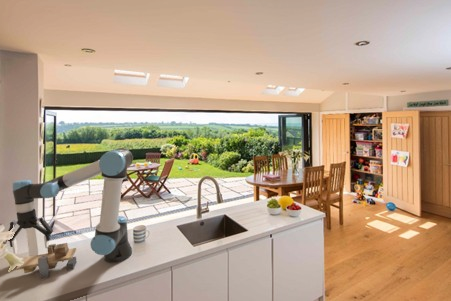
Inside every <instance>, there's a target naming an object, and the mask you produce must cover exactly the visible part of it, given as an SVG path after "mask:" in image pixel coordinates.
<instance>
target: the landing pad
mask: <svg viewBox="0 0 451 301" xmlns="http://www.w3.org/2000/svg"><path fill="white" fill-rule="evenodd" d="M76 264H77V256H73V258H72V259H70V260H67V263H66V271H72V270H74V269H75V266H76Z"/></svg>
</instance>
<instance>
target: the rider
mask: <svg viewBox="0 0 451 301" xmlns="http://www.w3.org/2000/svg"><path fill="white" fill-rule="evenodd" d="M68 248H69V246H68V242H64V243H59V244H56V247H55V248H54V254H55V258H58V257H63V256H66V255H67V253H68Z"/></svg>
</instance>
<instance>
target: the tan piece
mask: <svg viewBox="0 0 451 301" xmlns="http://www.w3.org/2000/svg"><path fill="white" fill-rule="evenodd" d="M48 250H49V253H48V252H47V254H41V255H36V256H31V257H29V256H26V257H24V258H23V259H22V261H24V264H23V265H21V266H18V265H17V267H16V271H20V270H23V274H27V273H33V272H35V271H36V269H37V267H39V265H38V258H39V257H45V256H47V258H48V266H49V270H53V269H55V268H56V267H57V266H58V264H59V263H60V262H61V263H64V262H65V261H68V260H70V259H72V258H73V257H75V256H74V255H75V253H76V251H77V247H74V248H69V247H68V253H67V255H66V256H63V257H58V258H55V254H54V252H53V248H52V247H48V249H47V251H48Z"/></svg>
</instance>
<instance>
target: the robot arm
mask: <svg viewBox="0 0 451 301" xmlns="http://www.w3.org/2000/svg"><path fill="white" fill-rule="evenodd" d="M133 161H134V156H133V154H132V152H131V151H130V150H129V149H127V148H124V147H118V148H116V149H111V150H108V151H106V152H105V153H104V154H102V155H101V156H100V158H99V160H95V161H94V162H92V163H90V164H87V165H85V166H82V167H80V168H77V169H75V170H72V171H70V172H68V173H65V174H63V175H60V176H57V177H55V178H53V179H49V180H48V181H45V182H41V183H40V182H39V183H32V180H31V179H21V180H20V179H19V180H16V181H14V182H13V183H12V194H13V198H14V206H15V212H16V218H17V220H12V221H11V222H10V223H9V229H8V231H10V230H11V229H12V228H13V225H14V228H15V227H16V226H17V225H18V228H17V229H16V230H15V231H14V233H15V234H14V233H13V234H14V236H13V235H12V236H13V238H12V239H10V240H8V241H7V242H9V246H10V248H12V251H13V255H14V254H17V252H18V251H19V249H18V241H17V239H16V237H17V236H18V235H19V233H20V232H21V231H22V229H24V230H26V228H32V227H33V228H36V229H37V230H38V231H40V232H41V233H43V234H44V243H45V248H47V247H48V246H49V245H50V244H49V241H50V240H51V238H50V235H51V234H52V233H53V232H54V229H53V228H52V227H51V226H50V224H48V223H47V221H46V219H45V217H44V216H41V217H37V210H36V205H35V199H50V198H55V197H57V196H58V195H59V193H60V192H62V191H64V190H66V189H68V188H69V189H70V187H73V186H76V185H78V184H80V183H83V182H86V181H88V180H91V179H93V178H96V177H97V176H98V177H99V176H101V177H102V178H103V188H102V189H103V190H102V198H101V207H100V214H99V216H100V217H99V223H98V224H96V225H95V231H94V236H93V237H92V239H91V241H90V248H91V250H92V251H93V252H94V253H95V254H97V255H100V256H103V258H104V261H105V262H107V263H119V262H122V261H124V260H125V261H126V259H128V258H130V257H131V256H132V255H133V248H132V246H131V243H130V242H129V235H128V234H129V233H128V222H127V217H126V216H122V215H119V212H120V204H121V195H122V189H123V180H124V179H126V178H127V173H128V168H129V167H131V165H132V164H133ZM37 221H39V224H42V225H43V227H44V228H43V227H41V226H40V225H39V224H38V223H37ZM8 231H7V232H8Z"/></svg>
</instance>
